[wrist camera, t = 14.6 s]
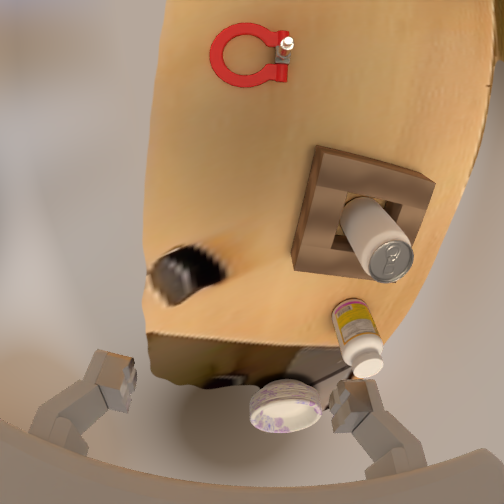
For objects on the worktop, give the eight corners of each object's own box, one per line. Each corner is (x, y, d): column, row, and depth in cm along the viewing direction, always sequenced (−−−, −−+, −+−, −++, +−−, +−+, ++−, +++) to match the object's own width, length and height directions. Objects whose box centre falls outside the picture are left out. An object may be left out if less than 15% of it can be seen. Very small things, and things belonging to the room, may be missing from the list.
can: (383, 195, 39) (422, 235, 29) (378, 235, 43) (410, 284, 32) (340, 195, 40) (369, 238, 29) (337, 237, 43) (361, 288, 33)
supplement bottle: (360, 325, 52) (379, 381, 41) (326, 324, 52) (340, 383, 41) (372, 297, 49) (396, 353, 38) (337, 295, 48) (356, 355, 37)
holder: (316, 145, 36) (324, 152, 32) (420, 172, 37) (435, 183, 33) (290, 253, 44) (294, 270, 40) (385, 266, 45) (395, 283, 42)
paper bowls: (330, 377, 61) (336, 407, 54) (296, 409, 68) (299, 436, 61) (267, 363, 58) (269, 396, 51) (239, 398, 65) (238, 427, 58)
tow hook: (210, 87, 33) (286, 89, 33) (181, 87, 22) (296, 89, 22) (212, 25, 29) (289, 26, 28) (185, -3, 17) (300, -3, 17)
